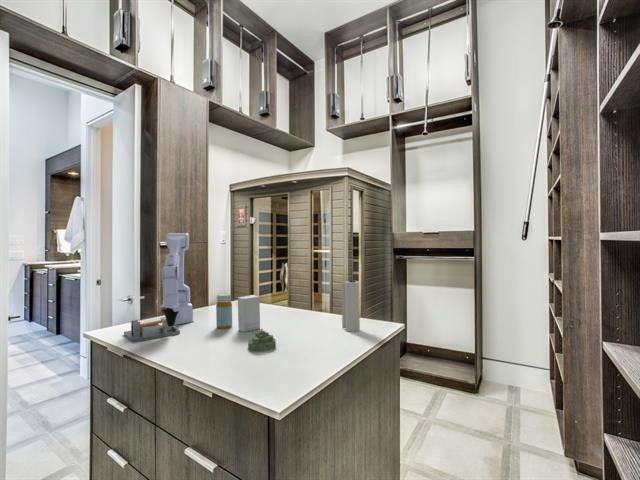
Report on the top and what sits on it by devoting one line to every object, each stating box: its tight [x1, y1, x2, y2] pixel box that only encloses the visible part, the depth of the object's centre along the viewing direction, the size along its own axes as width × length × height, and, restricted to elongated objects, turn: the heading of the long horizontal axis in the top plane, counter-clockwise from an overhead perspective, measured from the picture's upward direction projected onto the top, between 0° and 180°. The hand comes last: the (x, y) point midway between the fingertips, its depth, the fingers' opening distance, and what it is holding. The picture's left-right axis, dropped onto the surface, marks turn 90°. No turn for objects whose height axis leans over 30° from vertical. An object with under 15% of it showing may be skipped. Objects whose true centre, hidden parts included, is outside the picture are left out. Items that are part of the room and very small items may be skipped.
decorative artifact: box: [247, 328, 277, 353], centre depth 123 cm, size 10×7×10 cm
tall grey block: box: [341, 280, 361, 333], centre depth 145 cm, size 7×6×21 cm
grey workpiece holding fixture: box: [123, 319, 181, 343], centre depth 142 cm, size 18×16×6 cm
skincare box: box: [237, 294, 261, 333], centre depth 148 cm, size 8×6×15 cm
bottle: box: [215, 293, 233, 330], centre depth 153 cm, size 7×7×15 cm
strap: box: [140, 319, 162, 327], centre depth 143 cm, size 13×2×1 cm, turn 132°
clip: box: [160, 316, 172, 331], centre depth 145 cm, size 3×6×5 cm, turn 42°
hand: (171, 325), depth 140 cm, fingers closed
